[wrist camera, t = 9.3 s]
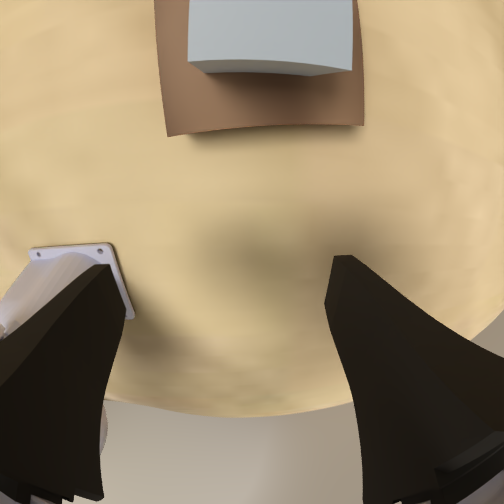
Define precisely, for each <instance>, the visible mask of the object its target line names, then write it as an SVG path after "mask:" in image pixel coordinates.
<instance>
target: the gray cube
mask: <svg viewBox="0 0 504 504" xmlns="http://www.w3.org/2000/svg"><path fill="white" fill-rule="evenodd" d="M352 51H353V10H352V0H190V2H189V24H188V62H189V63H190V64H192V65H193V66H195V67H196V68H198V69H199V70H201V71H202V72H203V73H223V72H256V73H278V74H291V75H302V76H316V75H322V74H329V73H336V72H344V71H352Z"/></svg>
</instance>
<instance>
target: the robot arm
mask: <svg viewBox="0 0 504 504" xmlns="http://www.w3.org/2000/svg"><path fill="white" fill-rule="evenodd" d="M99 248H100V249H102V250H103V251H101V250H100V249H99ZM28 254H29V257H30V259H31V261H30V262H29V264H28V265H27V266H26V267H25V268H24V270H23V271H22V272H21V274H20V275H19V276H18V277H17V279H16V280H15V281H14V283H13V284H12V285H11V287H10V288H9V289H8V291H7V292H6V293H5V295H4V296H3V298H2V299H1V301H0V504H62V499H65V500H67V501H69V502H73V500H74V495H77V496H80V497H83V498H86V499H90V500H93V501H99V500H102V499H103V498H104V493H103V486H102V478H101V469H100V454H101V452H102V450H103V448H104V445H105V442H106V437H107V429H108V423H107V417H106V411H105V408H104V405H103V400H104V395H105V390H106V386H107V383H108V379H109V376H110V372H111V369H112V365H113V362H114V359H115V355H116V352H117V349H118V346H119V342H120V339H121V336H122V331H123V326H124V321H125V319H130V320H131V319H134V317H135V312H134V310H133V307H132V305H131V302H130V299H129V296H128V294H127V291H126V288H125V285H124V282H123V280H122V277H121V274H120V271H119V268H118V264H117V261H116V258H115V255H114V252H113V248H112V246H111V245H110V244H108V243H99V244H84V245H69V246H54V247H41V248H31V249H30V250H29V251H28ZM324 305H325V309H326V314H327V319H328V323H329V327H330V331H331V334H332V337H333V340H334V343H335V345H336V348H337V351H338V354H339V357H340V360H341V363H342V365H343V368H344V371H345V374H346V377H347V380H348V383H349V386H350V390H351V393H352V397H353V402H354V407H355V412H356V418H357V424H358V431H359V438H360V446H361V457H362V471H363V504H394V503H397V502H399V501H401V502H402V504H504V358H503V357H500V356H498V355H496V354H494V353H492V352H490V351H488V350H486V349H484V348H482V347H480V346H478V345H476V344H474V343H473V342H471V341H469V340H467V339H466V338H464V337H462V336H460V335H459V334H457V333H456V332H454V331H452V330H451V329H449V328H448V327H446V326H445V325H443V324H442V323H440V322H439V321H437V320H436V319H434V318H433V317H431V316H430V315H428V314H427V313H426V312H424V311H423V310H422V309H420V308H419V307H418V306H416V305H415V304H414V303H412V302H411V301H410V300H408V299H407V298H406V297H405V296H403V295H402V294H401V293H400V292H398V291H397V290H396V289H395V288H393V287H392V286H391V285H390V284H388V283H387V282H386V281H385V280H383V279H382V278H381V277H380V276H378V275H377V274H376V273H375V272H374V271H372V270H371V269H370V268H369V267H367V266H366V265H365V264H363V263H362V262H361V261H359V260H358V259H357V258H355V257H354V256H352V255H340V256H334V259H333V264H332V269H331V274H330V279H329V284H328V289H327V293H326V298H325V302H324Z"/></svg>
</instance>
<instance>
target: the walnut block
mask: <svg viewBox="0 0 504 504" xmlns="http://www.w3.org/2000/svg"><path fill="white" fill-rule="evenodd" d="M189 2H190V0H154V10H155V28H156V42H157V54H158V65H159V75H160V84H161V92H162V101H163V108H164V116H165V123H166V130H167V137H171V136H177V135H183V134H190V133H197V132H204V131H212V130H221V129H230V128H241V127H253V126H269V125H294V124H334V125H359V126H364V70H363V52H362V39H361V29H360V19H359V11H358V4H357V0H352V10H353V51H352V71H344V72H336V73H329V74H322V75H316V76H302V75H291V74H278V73H256V72H223V73H203V72H202V71H201V70H199V69H198V68H196V67H195V66H193V65H192V64H190V63H189V62H188V24H189Z"/></svg>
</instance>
